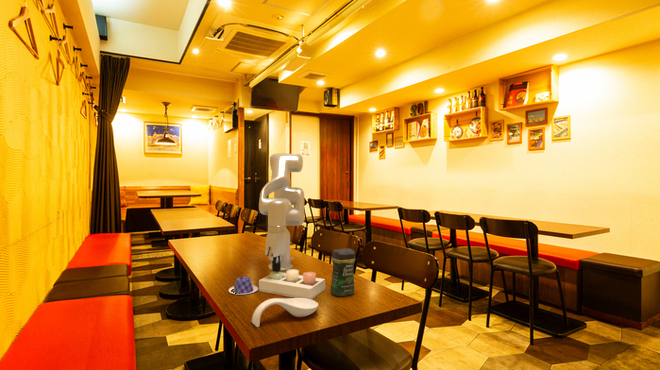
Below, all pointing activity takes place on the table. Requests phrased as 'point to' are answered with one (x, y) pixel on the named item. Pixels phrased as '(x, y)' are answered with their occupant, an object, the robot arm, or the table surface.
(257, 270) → the table surface
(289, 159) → the robot arm
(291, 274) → the cream button
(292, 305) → the spoon rest
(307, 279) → the pink round cup
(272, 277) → the sage button
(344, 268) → the coffee jar
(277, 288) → the white compartment tray
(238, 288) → the pudding
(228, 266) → the table surface
